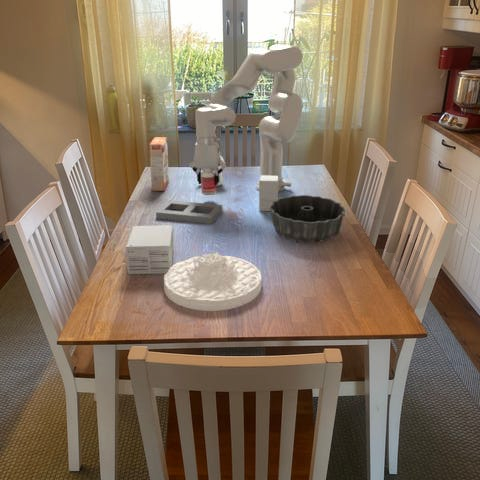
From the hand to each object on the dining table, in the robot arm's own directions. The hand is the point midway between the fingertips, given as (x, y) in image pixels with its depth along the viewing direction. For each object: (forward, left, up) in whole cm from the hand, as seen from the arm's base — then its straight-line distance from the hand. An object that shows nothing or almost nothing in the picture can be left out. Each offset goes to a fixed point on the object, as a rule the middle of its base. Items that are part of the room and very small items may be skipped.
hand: (208, 183), depth 215 cm
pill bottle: (0, 0, -5) cm, 5 cm away
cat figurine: (+6, -21, -8) cm, 24 cm away
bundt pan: (-43, +24, -8) cm, 50 cm away
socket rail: (+3, +17, -8) cm, 19 cm away
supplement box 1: (+1, +59, -8) cm, 59 cm away
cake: (-22, +69, -9) cm, 73 cm away
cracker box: (+27, -13, -8) cm, 31 cm away
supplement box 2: (-25, +2, -8) cm, 27 cm away
